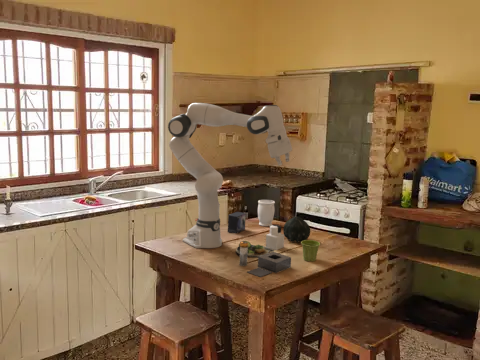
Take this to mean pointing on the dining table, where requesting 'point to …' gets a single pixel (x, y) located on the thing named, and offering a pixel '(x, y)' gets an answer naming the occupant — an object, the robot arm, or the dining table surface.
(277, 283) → the dining table surface
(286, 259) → the grey square block
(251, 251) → the salad plate
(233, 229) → the small box
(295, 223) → the squash
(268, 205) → the jar
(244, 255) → the cylindrical container
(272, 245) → the medicine bottle
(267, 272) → the mat
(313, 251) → the plant pot
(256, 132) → the robot arm
